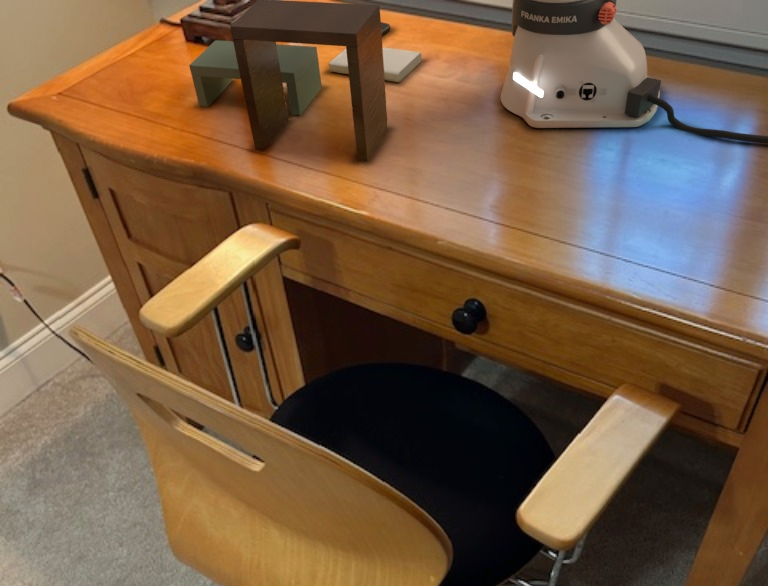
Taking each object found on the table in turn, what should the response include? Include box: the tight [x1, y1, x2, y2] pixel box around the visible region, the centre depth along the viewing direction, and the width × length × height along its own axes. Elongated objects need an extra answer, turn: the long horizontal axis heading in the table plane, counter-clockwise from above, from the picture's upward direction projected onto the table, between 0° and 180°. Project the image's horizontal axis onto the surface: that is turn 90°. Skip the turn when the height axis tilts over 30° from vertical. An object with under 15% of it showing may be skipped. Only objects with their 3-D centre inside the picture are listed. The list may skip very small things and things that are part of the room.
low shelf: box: [188, 39, 323, 116], centre depth 120 cm, size 17×9×6 cm, turn 71°
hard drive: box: [328, 46, 423, 83], centre depth 126 cm, size 2×8×12 cm
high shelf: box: [229, 0, 389, 163], centre depth 106 cm, size 17×9×16 cm, turn 71°
